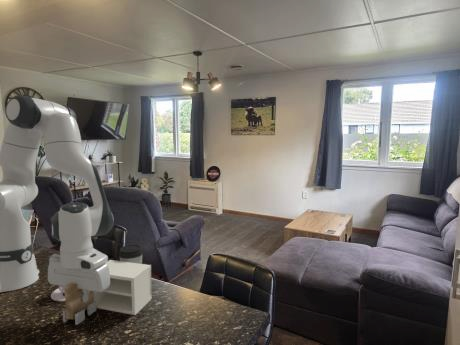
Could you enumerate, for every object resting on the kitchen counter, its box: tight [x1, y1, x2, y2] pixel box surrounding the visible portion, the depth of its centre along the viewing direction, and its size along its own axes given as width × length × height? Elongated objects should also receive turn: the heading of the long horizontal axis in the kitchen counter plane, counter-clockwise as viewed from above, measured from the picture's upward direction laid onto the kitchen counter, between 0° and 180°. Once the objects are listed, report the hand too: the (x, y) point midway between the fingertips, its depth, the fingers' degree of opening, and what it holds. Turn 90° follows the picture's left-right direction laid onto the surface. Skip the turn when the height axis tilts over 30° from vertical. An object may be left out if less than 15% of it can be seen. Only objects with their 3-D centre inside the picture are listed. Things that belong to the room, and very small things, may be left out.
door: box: [64, 283, 93, 321], centre depth 92 cm, size 3×8×10 cm, turn 164°
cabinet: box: [62, 259, 153, 325], centre depth 95 cm, size 19×19×12 cm
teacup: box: [50, 285, 65, 302], centre depth 106 cm, size 12×12×6 cm
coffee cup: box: [118, 244, 144, 264], centre depth 110 cm, size 8×8×15 cm
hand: (79, 300), depth 92 cm, fingers closed on door, 2 cm apart
